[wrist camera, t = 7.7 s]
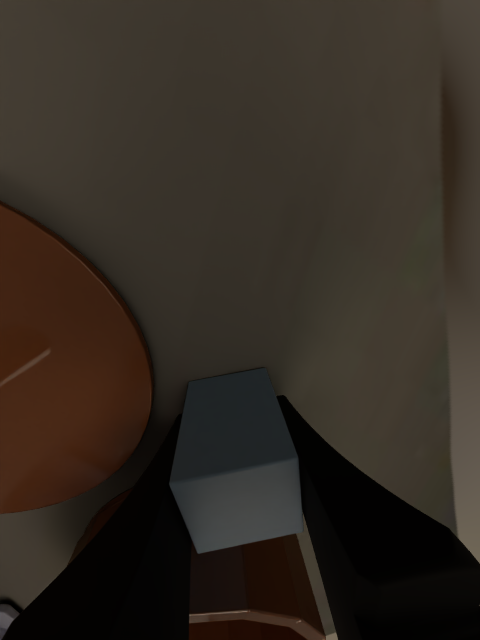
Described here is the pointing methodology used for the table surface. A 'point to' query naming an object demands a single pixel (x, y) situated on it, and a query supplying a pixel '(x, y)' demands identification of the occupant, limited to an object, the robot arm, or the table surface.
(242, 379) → the block
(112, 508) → the pot
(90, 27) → the table surface
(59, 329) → the lid
